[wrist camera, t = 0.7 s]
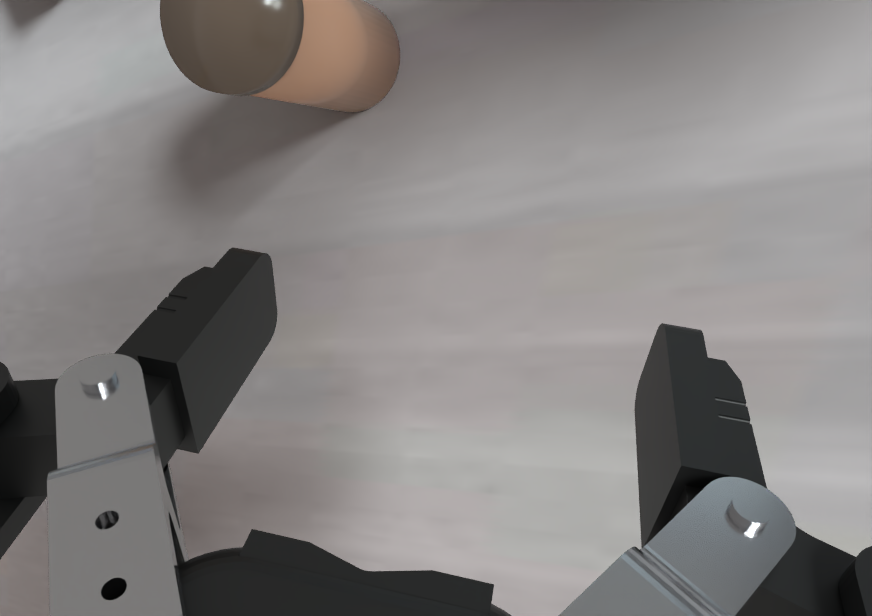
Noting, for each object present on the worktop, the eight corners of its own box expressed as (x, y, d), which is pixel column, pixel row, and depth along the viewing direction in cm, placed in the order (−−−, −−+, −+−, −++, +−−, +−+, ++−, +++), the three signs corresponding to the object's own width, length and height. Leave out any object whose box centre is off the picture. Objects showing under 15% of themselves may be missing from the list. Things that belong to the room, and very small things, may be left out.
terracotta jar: (370, -25, 31) (242, -107, 22) (420, 78, 31) (314, 40, 22) (286, 37, 33) (136, -13, 24) (333, 134, 33) (202, 121, 24)
